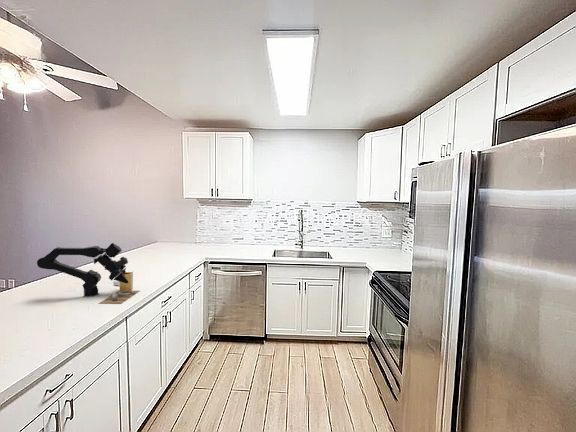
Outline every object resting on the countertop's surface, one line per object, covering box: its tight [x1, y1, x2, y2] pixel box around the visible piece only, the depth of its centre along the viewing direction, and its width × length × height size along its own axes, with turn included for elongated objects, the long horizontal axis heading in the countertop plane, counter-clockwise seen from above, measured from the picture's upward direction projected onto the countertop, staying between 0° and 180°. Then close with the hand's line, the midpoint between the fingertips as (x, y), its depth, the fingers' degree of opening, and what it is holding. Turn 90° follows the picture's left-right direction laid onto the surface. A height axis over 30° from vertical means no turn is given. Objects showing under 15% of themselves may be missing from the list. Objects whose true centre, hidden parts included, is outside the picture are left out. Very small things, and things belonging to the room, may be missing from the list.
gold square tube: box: [119, 271, 134, 292], centre depth 203 cm, size 6×6×10 cm
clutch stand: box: [97, 289, 141, 305], centre depth 196 cm, size 26×12×6 cm, turn 1°
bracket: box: [112, 270, 134, 287], centre depth 230 cm, size 13×7×8 cm, turn 1°
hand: (128, 281), depth 204 cm, fingers closed on gold square tube, 6 cm apart
